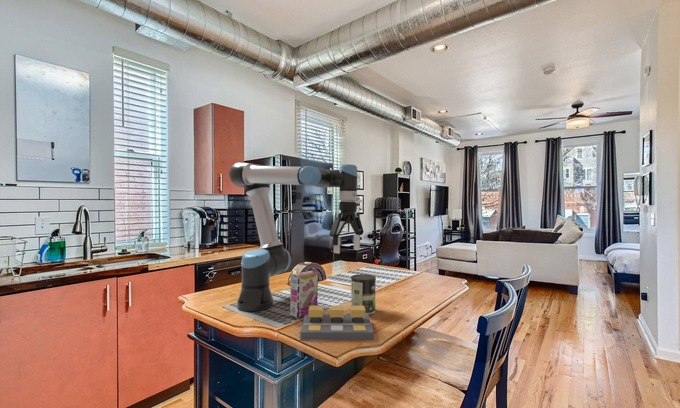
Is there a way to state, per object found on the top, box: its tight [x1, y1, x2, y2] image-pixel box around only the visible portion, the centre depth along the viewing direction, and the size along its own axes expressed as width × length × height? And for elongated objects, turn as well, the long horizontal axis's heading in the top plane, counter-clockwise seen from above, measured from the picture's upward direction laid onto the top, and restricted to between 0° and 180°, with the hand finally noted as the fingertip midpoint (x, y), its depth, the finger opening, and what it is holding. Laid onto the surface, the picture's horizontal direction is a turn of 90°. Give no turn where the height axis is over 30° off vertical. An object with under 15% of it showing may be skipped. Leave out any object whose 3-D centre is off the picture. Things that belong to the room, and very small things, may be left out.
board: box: [299, 314, 375, 341], centre depth 111 cm, size 24×16×3 cm, turn 91°
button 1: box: [308, 304, 324, 322], centre depth 114 cm, size 5×5×5 cm
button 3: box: [350, 305, 365, 322], centre depth 114 cm, size 5×5×5 cm
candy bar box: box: [289, 270, 319, 319], centre depth 127 cm, size 11×5×16 cm, turn 141°
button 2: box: [329, 305, 345, 322], centre depth 114 cm, size 5×5×5 cm
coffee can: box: [350, 273, 377, 316], centre depth 131 cm, size 10×10×14 cm
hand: (347, 251), depth 134 cm, fingers open, 13 cm apart
